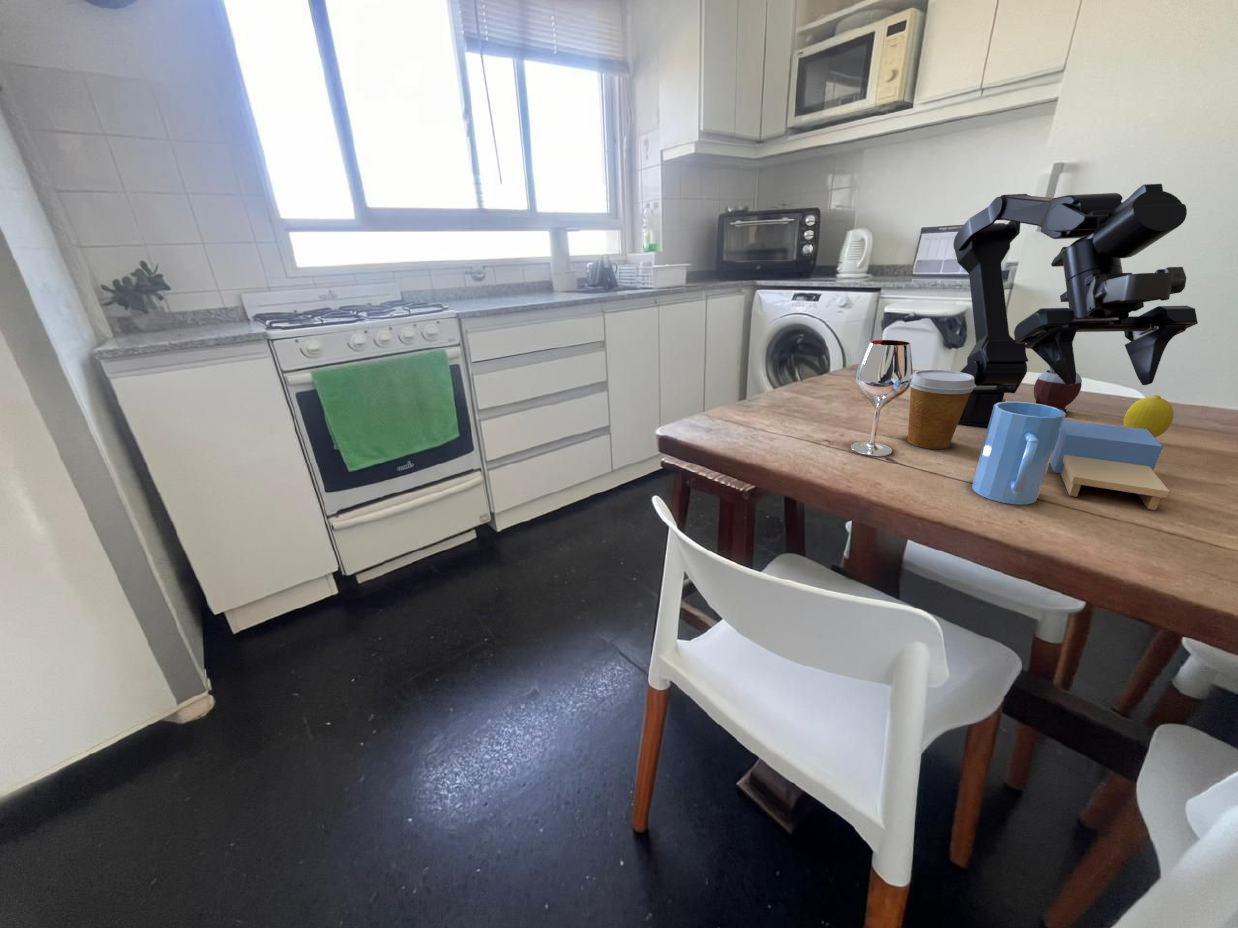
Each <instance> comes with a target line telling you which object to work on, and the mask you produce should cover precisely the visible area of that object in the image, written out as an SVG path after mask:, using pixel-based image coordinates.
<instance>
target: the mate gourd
mask: <svg viewBox="0 0 1238 928" xmlns="http://www.w3.org/2000/svg"><path fill="white" fill-rule="evenodd" d="M1048 368H1049V369H1047V370H1044V371H1042V373H1041V374H1040V375H1038V377H1037V378H1036V380H1035V383H1034V385H1033V398H1034V400H1035V404H1042V405H1046V406H1051V407H1055V408H1057V409H1060V410H1062V411H1064V412H1065V413H1066V412H1067V410H1068V409H1067V408H1066V407H1068V406H1069V405H1071V403H1073V402H1074V400H1075V399H1076V398H1077V397H1078V396H1079V394H1080V392H1081V390H1082V385H1083V384H1082V382H1083V380H1082V377H1081V375H1080V374H1079V373H1078V372H1076V383H1075V384H1073V385H1070V386H1068V385H1066V384H1065V383H1064V382H1063V380H1062V379H1061V378H1060V377H1059V376H1058V375H1057V374H1056V372H1055V371H1054V370H1053V369H1052V368H1051V367H1050V366H1049V365H1048Z"/></svg>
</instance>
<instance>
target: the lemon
mask: <svg viewBox="0 0 1238 928" xmlns="http://www.w3.org/2000/svg"><path fill="white" fill-rule="evenodd" d="M1174 413H1175V411H1174V407H1173V406H1172V404H1171V403H1170V402H1169V401H1168V400H1166V399H1165V398H1162V397H1161V396H1160V395H1157V394H1155V395H1152V396H1148V397H1143V398H1141V399H1138V400H1136V401H1135V402H1133V403H1132V404H1131V405H1130V406H1129V408H1128V409H1127V411H1126V412H1125V415H1124V417H1123V421H1122V422H1123V423H1122V424H1123V425H1122V426H1123V427H1131V428H1140V429H1147V430H1148V431H1149V432H1150V433H1151V434H1152V435H1153V436H1154V437H1155V438H1157V437H1160V436H1161V435H1163V434H1164V433H1166V432H1167V431H1168V430H1169V428H1170V427H1171V425H1172V423H1173V420H1174Z"/></svg>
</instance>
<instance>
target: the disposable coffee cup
mask: <svg viewBox="0 0 1238 928" xmlns="http://www.w3.org/2000/svg"><path fill="white" fill-rule="evenodd" d="M975 387H976V385H975V384H974V376H972V375H970V374H966V373H962V372H960V371H956V370H948V369H947V370H945V369H919V370H916V371H913V379H912V383H911V385H910V395H909V408H908V409H909V410H908V411H909V412H908V426H907V442H908V443H909V444H911V445H913V446H916V447H920V448H922V449H923V448H924V449H931V450H942V449H948V448H949V447H950V445H951V441H952V440H953V437H954V435H955V432H956V430H957V428H958V426H959V424H958V422H959V420H960V418H961V415H962V413H963V410H964V408H965V405H966V403H967V400H968V398H969V395H970V393H971V392H972V391H973V389H974V388H975Z"/></svg>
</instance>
